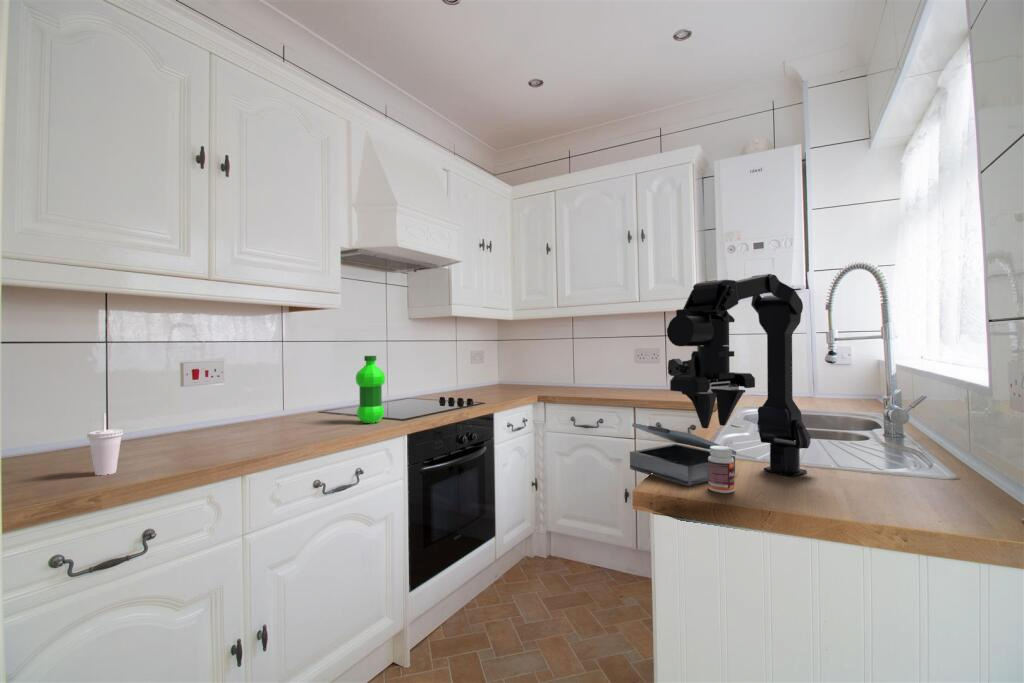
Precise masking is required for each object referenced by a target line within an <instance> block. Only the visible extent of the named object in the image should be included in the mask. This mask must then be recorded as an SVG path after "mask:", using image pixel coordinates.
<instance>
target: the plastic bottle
mask: <svg viewBox="0 0 1024 683" xmlns="http://www.w3.org/2000/svg"><path fill="white" fill-rule="evenodd" d="M363 358H364V359H363V360H364V361H365V365H364V366H363V367H362V368H361V369H360V370H358V371H357V372H356V375H355V383H356V384H357V386H358V387H359V406H358V408H357V411H356V415H357V417H358V420H360V421H361V422H364V423H374V424H376V423H375V422H378V423H379V422H380V421H381V420H382V419H383V418H384V416H385V408H384V407H383V405H382V402H383V401H382V399H383V398H382V396H383V395H382V394H383V393H382V387H383V385H384V384H385V383H386V382H385V381H386V374H385V373H384V371H382V370H381V369H380V368H379V367H378V366H377V365H376V361H377V355H364V357H363ZM364 423H363V424H364Z"/></svg>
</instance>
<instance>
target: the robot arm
mask: <svg viewBox="0 0 1024 683" xmlns="http://www.w3.org/2000/svg"><path fill="white" fill-rule="evenodd" d="M692 288H693V289H692V290H691V292H690V294H689V296H688V297H687V300H686V302H685V304H684V306H683V308H682V309H681V308H680V309H676V311H675V312H676V313H675V314H676V315H675V316H674V317H673V318H672V319H671V320H670V321H669V323H668V326H667V328H666V335H667V338H668V341H670V343H671V344H673V346H676V347H697V348H696V350H694V351H692V352H691V356H690V357H691V358H690V359H688V360H682V359H680V358H672V359H669V360H668V361H667V374H668V376H671V377H672V378H671V379H670V380H669V390H670V391H671V392H680V393H681V394H682V395H685V396H686V397H687V398H688V399H690V401H691V402H692V404H693V406H694V409H695V411H696V414H697V417H698V418H697V419H698V420H699V422H700V423H699V424H700V426H701V428H703V429H708V428H709V426H710V423H711V419H712V416H713V411H714V408H715V403H716V408H717V417H718V418H717V419H718V424H719V426H723V427H725V426H726V425H727V423H728V421H729V420H730V418H731V415H732V413H733V411H734V409H735V408H736V406H737V404H738V403H739V401H740V399H741V397H742V396H743V394H745V393H746V390H745V389H752V388H754V389H755V388H756V378H755V377H754V376H753V375H752V373H750V372H731V371H730V370H731V369H730V364H731V363H730V357H731V358H732V357H735V351H734V350H730V323H735V321H736V320H735V318H734V317H733V315H731V314H730V312H728V311H729V310H731V309H732V308H734V307H736V306H737V305H738V304H739V301H740V300H745V299H748V298H752V299H751V307H752V308H753V309H754V311H755V312H756V313H757V314H758V315H757V316H758V323H759V325H760V326H761V328H762V329H763V330H764V332H765V333H766V339H767V341H766V348H767V350H766V353H767V355H766V359H767V361H766V362H767V366H766V367H767V368H766V369H767V375H766V376H767V378H766V379H767V384H766V386H767V387H766V388H767V396H766V397H767V399H766V400H765V402H764V403H763V404H762V406H761V405H759V407H758V409H757V424H756V425H757V429H758V434H759V438H760V442H761V443H763V444H764V443H766V444H769V466H767V467H763V470H764V471H765V472H770V473H774V474H778V475H783V476H787V477H795V476H800V475H803V474H806V473H808V470H807V469H802V468H801V465H800V464H801V463H800V462H801V461H800V460H801V459H800V458H801V457H800V452H801V451H800V449H809V447H810V444H811V438H812V437H811V435H810V434H809V433H810V432H809V431H808V429H807V428H806V425H805V424H804V423H803V421H802V420H803V419H802V412H801V410H800V408H799V407H798V406H797V404H796V402H795V401H794V399H793V334H794V332H795V331H796V329H797V328H798V326H799V325H800V323H801V319H802V312H803V310H804V302H803V301H802V299H801V297H800V295H799V294H798V292H797V291H796V290H795V289H794V287H791V286H790V285H787V284H785V283H783V281H782V282H781V281H780V280H779V277H778V276H777V275H775V274H772V273H766V274H759V275H752V276H751V277H746V278H743V279H738V280H734V279H720V280H711V281H704V282H703V281H702V282H697V283H695V284H694V285H693V287H692ZM763 294H772V295H763ZM761 295H763V296H761ZM740 387H743V388H745V389H739V388H740Z"/></svg>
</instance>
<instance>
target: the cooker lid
mask: <svg viewBox="0 0 1024 683" xmlns="http://www.w3.org/2000/svg"><path fill="white" fill-rule="evenodd" d="M631 427H633V428H635V429H638V430H641V431H644V432H646V433H649V434H651V435H653V436H657V437H659V438H662V439H665V440H667V441H670V442H673V443H675V444H680V445H684V446H689V447H694V448H699V449H703V450H708V451H710V447H711V446H722V445H721V444H719V443H715V442H714V441H711V440H708V439H706V438H704V437H700V436H699V435H696V434H693V433H688V432H683V431H677V430H673V429H669V428H665V427H660V426H654V425H645V424H641V423H640V424H639V423H634V422H632V424H631ZM736 455H737V451H736V450H733V449H732V456H736Z"/></svg>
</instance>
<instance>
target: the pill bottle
mask: <svg viewBox="0 0 1024 683" xmlns="http://www.w3.org/2000/svg"><path fill="white" fill-rule="evenodd" d="M732 450H733V448H732V447H730V446H726V445H725V446H724V445H721V446H711V447H710V450H709V451H710V454H711V456H709V457H708V481H707V484H708V486H707V487H708V489H709V490H710V491H712V492H715V493H721V494H731V493H733V492H735V475H734V459H733V458H732V457H731V456H733V454H732Z"/></svg>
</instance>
